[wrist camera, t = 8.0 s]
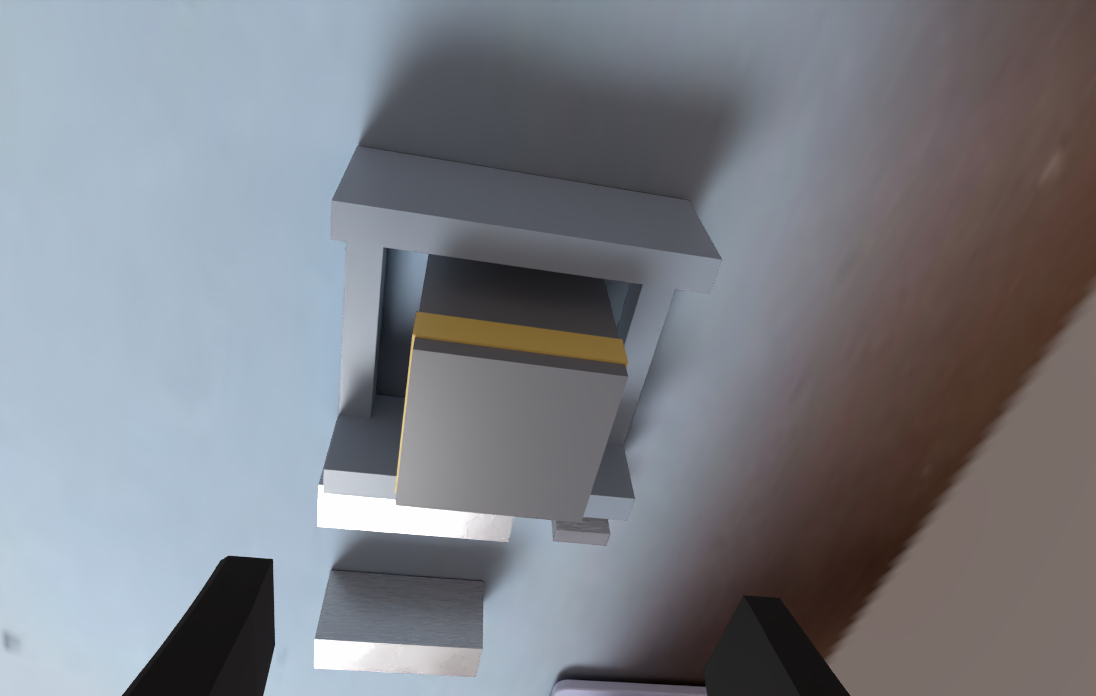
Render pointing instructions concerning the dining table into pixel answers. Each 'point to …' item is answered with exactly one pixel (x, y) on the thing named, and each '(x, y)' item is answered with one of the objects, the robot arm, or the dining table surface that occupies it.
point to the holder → (511, 239)
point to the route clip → (582, 531)
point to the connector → (508, 391)
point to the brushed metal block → (402, 596)
